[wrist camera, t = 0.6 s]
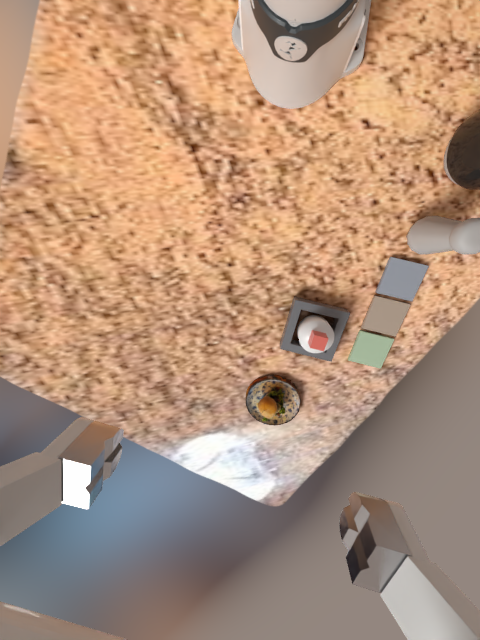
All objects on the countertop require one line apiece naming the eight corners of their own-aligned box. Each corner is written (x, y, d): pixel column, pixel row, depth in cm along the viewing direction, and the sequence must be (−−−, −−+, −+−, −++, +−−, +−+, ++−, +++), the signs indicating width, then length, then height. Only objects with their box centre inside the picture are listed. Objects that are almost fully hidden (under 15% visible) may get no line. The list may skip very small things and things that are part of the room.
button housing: (294, 296, 48) (295, 299, 46) (346, 309, 48) (350, 313, 46) (279, 343, 52) (280, 348, 49) (328, 355, 51) (331, 361, 49)
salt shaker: (399, 221, 42) (452, 217, 30) (438, 212, 41) (509, 203, 29) (402, 257, 44) (453, 266, 32) (439, 248, 43) (506, 254, 31)
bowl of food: (268, 428, 59) (268, 454, 52) (234, 393, 57) (229, 415, 50) (311, 402, 55) (317, 426, 48) (277, 363, 53) (278, 383, 46)
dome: (302, 311, 47) (306, 322, 41) (334, 319, 47) (343, 331, 41) (293, 340, 49) (296, 354, 43) (323, 348, 49) (330, 363, 43)
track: (390, 256, 44) (391, 257, 44) (426, 265, 44) (428, 265, 43) (347, 359, 51) (348, 360, 50) (379, 366, 51) (380, 368, 50)
